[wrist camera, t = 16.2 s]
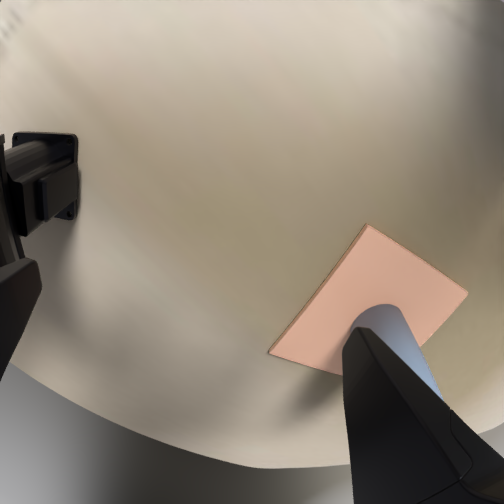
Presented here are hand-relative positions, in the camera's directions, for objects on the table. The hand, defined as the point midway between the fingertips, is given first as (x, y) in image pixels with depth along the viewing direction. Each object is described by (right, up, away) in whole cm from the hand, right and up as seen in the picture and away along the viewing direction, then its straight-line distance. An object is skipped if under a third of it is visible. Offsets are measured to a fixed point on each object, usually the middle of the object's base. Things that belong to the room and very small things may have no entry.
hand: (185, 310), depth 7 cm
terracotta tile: (+13, -5, +17) cm, 22 cm away
